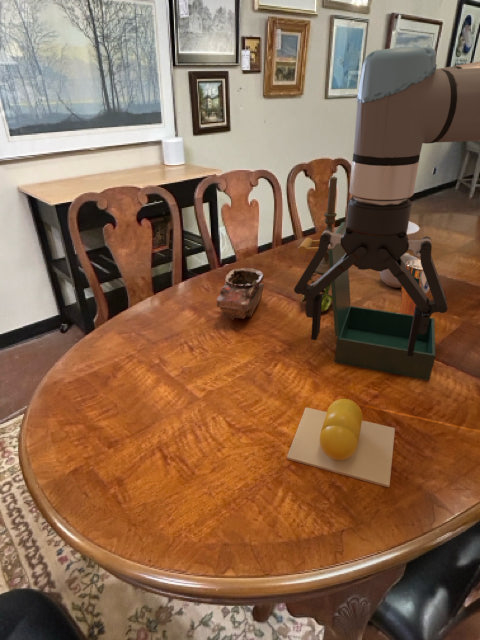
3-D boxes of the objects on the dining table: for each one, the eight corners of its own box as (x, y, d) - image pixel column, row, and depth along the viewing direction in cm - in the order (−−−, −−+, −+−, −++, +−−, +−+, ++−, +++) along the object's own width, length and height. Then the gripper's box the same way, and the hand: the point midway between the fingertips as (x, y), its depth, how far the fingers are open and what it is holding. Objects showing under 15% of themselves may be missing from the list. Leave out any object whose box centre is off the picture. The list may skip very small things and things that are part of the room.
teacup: (403, 294, 121) (408, 268, 117) (370, 283, 128) (373, 258, 124) (426, 280, 129) (431, 256, 125) (394, 271, 136) (398, 247, 132)
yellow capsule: (331, 416, 77) (329, 390, 74) (365, 420, 74) (364, 393, 72) (317, 465, 67) (314, 436, 65) (355, 471, 65) (354, 441, 62)
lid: (345, 221, 92) (308, 224, 96) (331, 244, 79) (289, 247, 83) (350, 303, 101) (316, 303, 104) (339, 336, 88) (300, 335, 91)
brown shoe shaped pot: (281, 300, 119) (282, 268, 114) (256, 335, 103) (256, 299, 98) (238, 293, 123) (237, 263, 119) (208, 325, 107) (206, 291, 103)
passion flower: (307, 319, 120) (311, 278, 122) (345, 320, 115) (348, 278, 116) (293, 312, 110) (297, 268, 112) (333, 314, 105) (337, 267, 107)
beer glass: (405, 309, 113) (416, 257, 106) (429, 319, 108) (442, 265, 101) (389, 317, 109) (399, 263, 102) (413, 327, 104) (425, 272, 97)
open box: (428, 342, 98) (434, 318, 95) (428, 382, 85) (435, 355, 82) (345, 328, 105) (348, 305, 101) (334, 364, 91) (336, 338, 88)
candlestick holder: (321, 276, 133) (329, 179, 119) (306, 266, 141) (312, 174, 126) (345, 272, 136) (356, 176, 122) (329, 262, 144) (338, 171, 129)
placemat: (394, 430, 74) (395, 427, 73) (389, 487, 63) (389, 485, 63) (305, 409, 79) (305, 406, 79) (286, 459, 68) (286, 457, 68)
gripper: (490, 195, 50) (452, 344, 61) (289, 186, 59) (286, 318, 69) (499, 211, 44) (455, 373, 55) (274, 198, 53) (272, 341, 63)
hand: (361, 343), depth 62 cm, fingers open, 13 cm apart
